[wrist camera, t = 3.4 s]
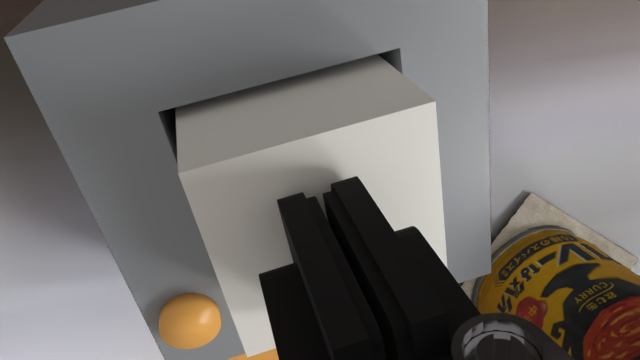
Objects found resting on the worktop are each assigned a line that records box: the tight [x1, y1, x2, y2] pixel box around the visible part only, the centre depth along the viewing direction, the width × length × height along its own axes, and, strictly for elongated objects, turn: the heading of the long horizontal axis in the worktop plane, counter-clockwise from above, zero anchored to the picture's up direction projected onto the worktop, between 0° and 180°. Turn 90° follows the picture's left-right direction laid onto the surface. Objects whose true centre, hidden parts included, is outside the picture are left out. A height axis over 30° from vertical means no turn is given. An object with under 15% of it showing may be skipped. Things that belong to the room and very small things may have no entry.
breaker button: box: [175, 54, 448, 358], centre depth 13 cm, size 5×5×4 cm
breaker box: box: [4, 0, 491, 360], centre depth 15 cm, size 10×10×5 cm
